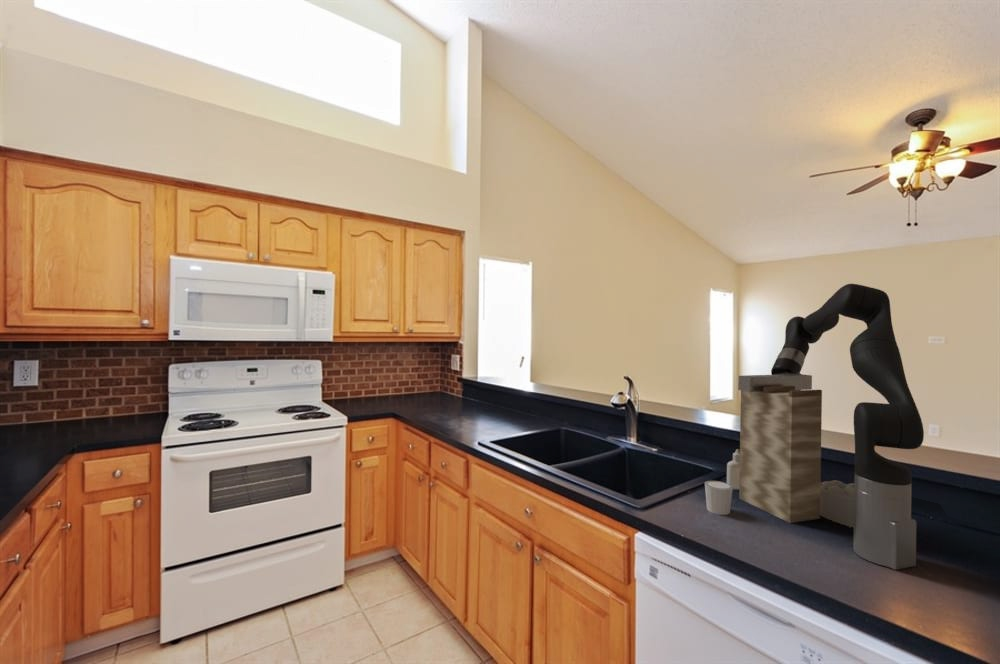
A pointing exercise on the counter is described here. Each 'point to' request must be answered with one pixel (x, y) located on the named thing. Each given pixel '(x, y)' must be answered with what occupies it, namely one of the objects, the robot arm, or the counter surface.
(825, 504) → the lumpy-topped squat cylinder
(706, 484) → the white tapered cup
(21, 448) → the counter surface
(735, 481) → the eye dropper bottle
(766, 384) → the metal bar
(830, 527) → the counter surface
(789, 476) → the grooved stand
